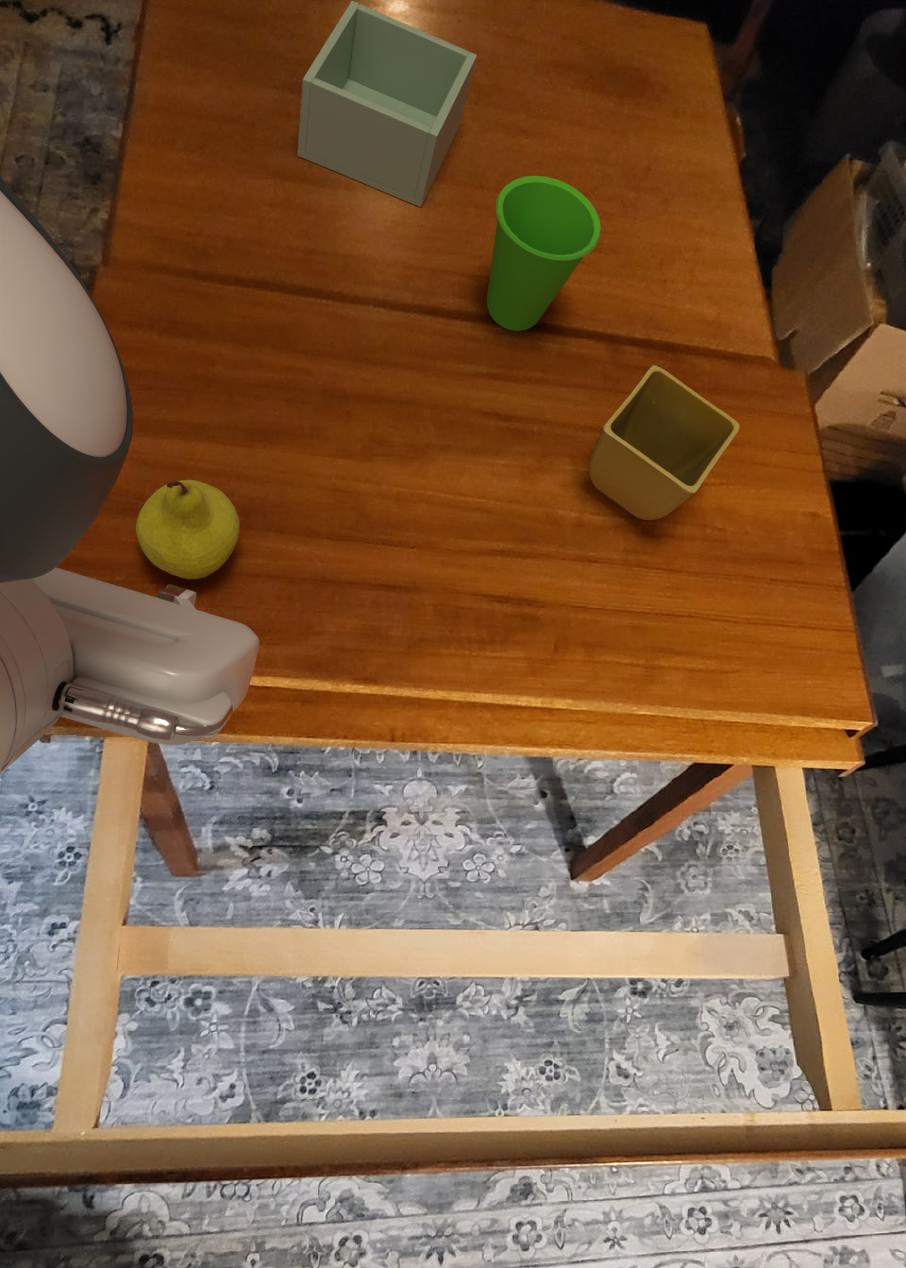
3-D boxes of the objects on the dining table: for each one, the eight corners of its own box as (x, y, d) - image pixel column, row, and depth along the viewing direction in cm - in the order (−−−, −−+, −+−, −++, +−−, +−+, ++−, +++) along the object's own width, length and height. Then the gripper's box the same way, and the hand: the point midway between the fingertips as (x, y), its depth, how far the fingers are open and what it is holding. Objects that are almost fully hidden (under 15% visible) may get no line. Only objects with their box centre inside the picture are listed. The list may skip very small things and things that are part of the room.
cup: (480, 352, 81) (515, 260, 71) (454, 274, 84) (483, 175, 74) (570, 345, 83) (615, 255, 73) (542, 270, 86) (581, 173, 76)
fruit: (183, 496, 69) (173, 400, 58) (257, 545, 69) (261, 456, 58) (123, 560, 66) (101, 471, 55) (201, 611, 65) (194, 531, 55)
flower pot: (646, 549, 76) (694, 494, 68) (563, 489, 77) (602, 427, 69) (691, 484, 80) (743, 424, 72) (612, 427, 81) (654, 361, 73)
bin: (297, 155, 85) (302, 78, 78) (342, 78, 91) (351, -1, 84) (420, 207, 86) (437, 136, 79) (458, 128, 91) (477, 54, 84)
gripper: (227, 672, 33) (300, 578, 46) (-333, 505, 32) (-94, 457, 45) (192, 816, 35) (272, 686, 48) (-337, 664, 34) (-107, 573, 47)
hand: (92, 574), depth 46 cm, fingers open, 8 cm apart
